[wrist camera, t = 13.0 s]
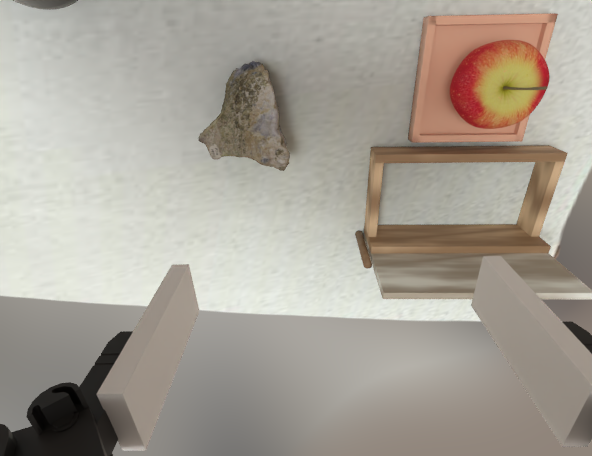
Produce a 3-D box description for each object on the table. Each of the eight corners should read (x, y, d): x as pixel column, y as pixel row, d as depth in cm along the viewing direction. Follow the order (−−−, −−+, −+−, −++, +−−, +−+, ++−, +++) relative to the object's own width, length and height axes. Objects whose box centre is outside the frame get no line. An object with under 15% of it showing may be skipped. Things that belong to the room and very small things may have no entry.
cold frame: (361, 147, 44) (383, 186, 32) (548, 145, 44) (645, 184, 31) (355, 237, 50) (371, 299, 38) (520, 236, 50) (592, 300, 37)
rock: (287, 172, 39) (197, 162, 39) (289, 166, 45) (210, 156, 44) (299, 62, 36) (201, 49, 35) (299, 70, 41) (214, 59, 41)
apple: (512, 112, 41) (569, 130, 32) (438, 125, 42) (473, 147, 33) (519, 33, 37) (586, 29, 28) (437, 49, 38) (477, 50, 29)
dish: (423, 17, 38) (428, 16, 36) (546, 14, 37) (557, 13, 36) (407, 139, 44) (411, 142, 42) (514, 137, 43) (522, 141, 42)
